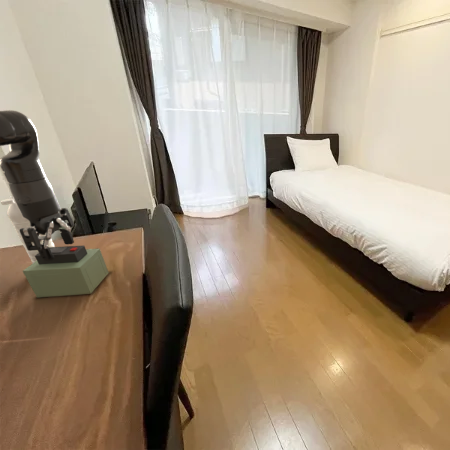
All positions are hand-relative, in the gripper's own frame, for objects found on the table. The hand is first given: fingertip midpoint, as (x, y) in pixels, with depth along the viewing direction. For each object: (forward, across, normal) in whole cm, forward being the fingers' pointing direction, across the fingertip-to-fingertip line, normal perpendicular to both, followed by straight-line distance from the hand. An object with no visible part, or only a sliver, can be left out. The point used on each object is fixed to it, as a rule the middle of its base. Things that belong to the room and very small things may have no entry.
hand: (60, 251), depth 75 cm
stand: (+12, 0, 0) cm, 12 cm away
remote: (+3, 0, 0) cm, 3 cm away
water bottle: (+12, -9, -13) cm, 20 cm away
